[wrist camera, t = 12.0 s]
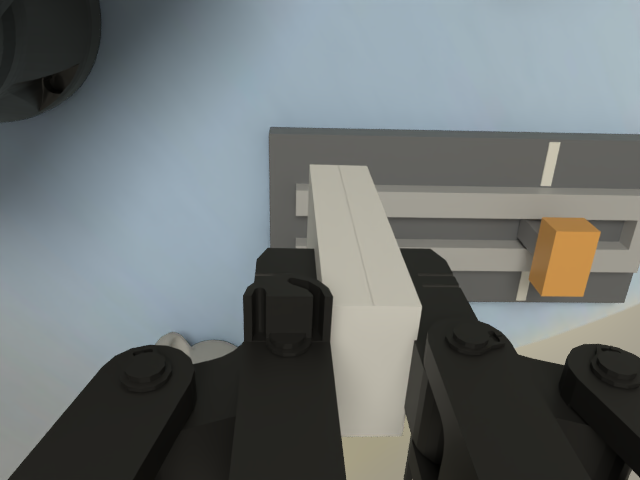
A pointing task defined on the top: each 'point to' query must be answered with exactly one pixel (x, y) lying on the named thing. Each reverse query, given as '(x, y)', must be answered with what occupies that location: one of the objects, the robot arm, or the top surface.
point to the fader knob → (559, 253)
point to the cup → (197, 347)
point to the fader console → (476, 198)
